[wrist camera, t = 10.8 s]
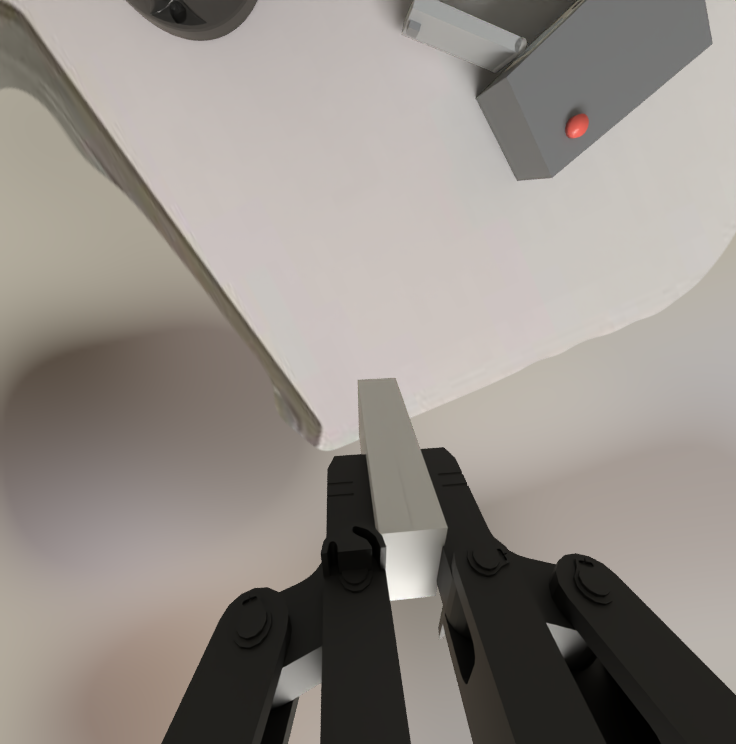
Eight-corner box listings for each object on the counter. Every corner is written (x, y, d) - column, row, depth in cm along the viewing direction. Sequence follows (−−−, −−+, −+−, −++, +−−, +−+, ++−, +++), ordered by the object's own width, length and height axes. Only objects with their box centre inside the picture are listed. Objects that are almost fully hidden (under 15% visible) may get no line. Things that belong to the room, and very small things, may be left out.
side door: (496, 80, 33) (520, 62, 29) (399, 41, 31) (411, 16, 27) (502, 60, 32) (529, 39, 28) (404, 19, 30) (416, -10, 26)
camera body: (475, 96, 34) (509, 72, 28) (636, -61, 30) (724, -135, 23) (517, 180, 39) (556, 177, 32) (664, 54, 34) (745, 19, 28)
